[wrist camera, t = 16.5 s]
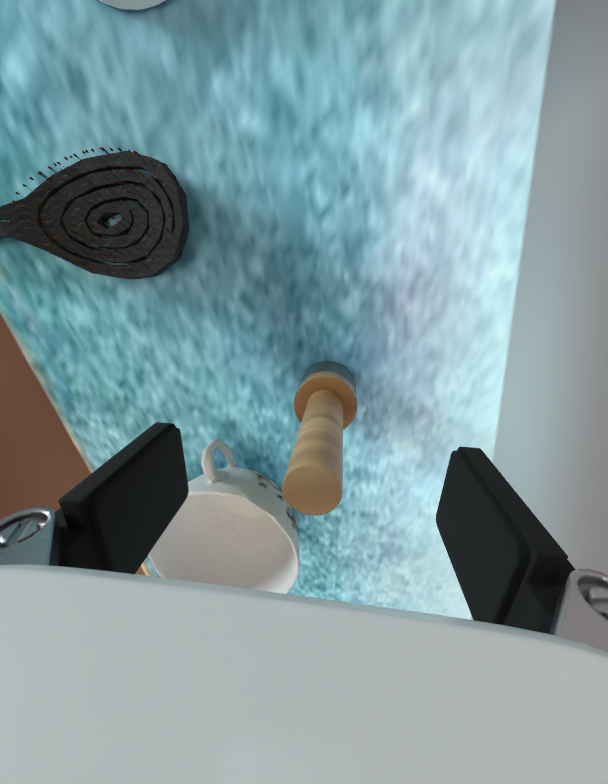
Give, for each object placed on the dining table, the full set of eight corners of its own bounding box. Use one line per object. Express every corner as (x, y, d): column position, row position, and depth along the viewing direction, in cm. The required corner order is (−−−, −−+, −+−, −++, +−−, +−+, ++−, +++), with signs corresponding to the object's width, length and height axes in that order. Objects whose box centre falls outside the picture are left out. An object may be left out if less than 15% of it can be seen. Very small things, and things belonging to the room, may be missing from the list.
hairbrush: (-147, 163, 22) (162, 122, 17) (-78, 179, 25) (195, 149, 21) (-93, 284, 24) (184, 275, 20) (-37, 284, 28) (210, 276, 23)
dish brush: (294, 369, 26) (243, 457, 12) (346, 354, 25) (349, 432, 11) (311, 416, 27) (279, 540, 14) (361, 403, 26) (378, 524, 13)
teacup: (314, 542, 32) (305, 620, 24) (205, 539, 34) (166, 611, 26) (300, 414, 27) (283, 463, 19) (173, 419, 29) (114, 466, 21)
